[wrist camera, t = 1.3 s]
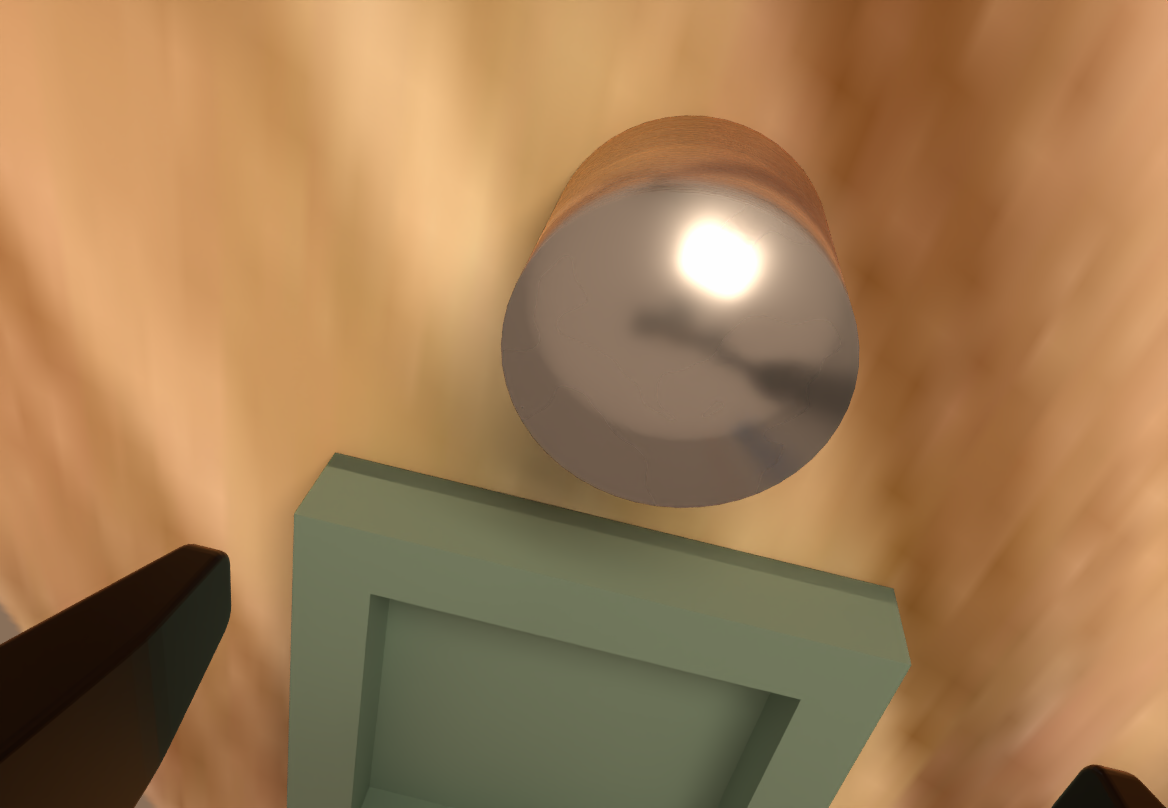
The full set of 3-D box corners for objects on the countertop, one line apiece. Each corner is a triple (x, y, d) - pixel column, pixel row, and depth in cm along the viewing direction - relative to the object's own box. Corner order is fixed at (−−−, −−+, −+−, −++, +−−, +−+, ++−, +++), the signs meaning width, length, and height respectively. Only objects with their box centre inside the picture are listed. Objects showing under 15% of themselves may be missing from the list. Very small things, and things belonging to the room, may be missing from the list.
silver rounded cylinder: (871, 153, 18) (918, 243, 13) (778, 403, 21) (791, 540, 17) (577, 84, 18) (531, 151, 13) (530, 343, 21) (480, 463, 17)
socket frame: (893, 588, 23) (911, 665, 21) (731, 895, 31) (731, 974, 29) (335, 452, 23) (294, 513, 21) (316, 791, 31) (285, 862, 29)
